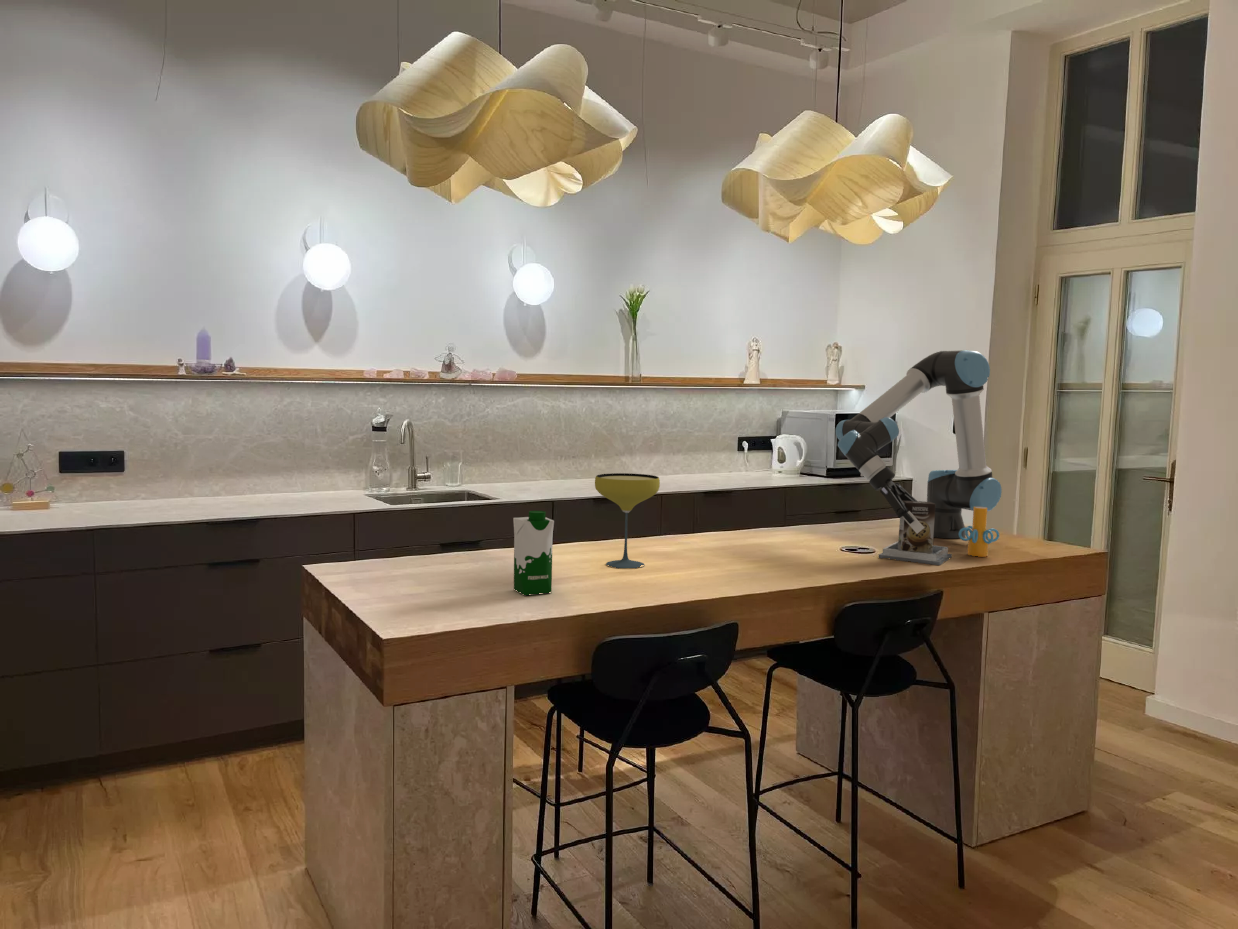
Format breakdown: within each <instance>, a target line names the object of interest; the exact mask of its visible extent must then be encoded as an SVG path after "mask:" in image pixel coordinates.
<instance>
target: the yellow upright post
mask: <svg viewBox="0 0 1238 929" xmlns="http://www.w3.org/2000/svg"><path fill="white" fill-rule="evenodd" d="M972 512H973V513H972V525H967V527H965V528H962V529H961V530H960V531H959V537H960V538H959V539H960V540H961V541H965V542H968V543H967V555H968V556H970V555H972V556H971V557H975V556H978V557H977V558H986V556H987V557H988V556H989V545H990V544H992V543H994V542H996V541H998V540H999V538H1000V532H999V530H998V529H996V528H992V527H991V528H988V529H987V521H988V512H987V508H986V507H974V509H973V511H972ZM964 530H965V534H966V536H965V537H964V538H963V537H962V535H961V533H962V531H964ZM993 532H995V533H996V537H995V538H994V534H993ZM989 535H990V538H989Z"/></svg>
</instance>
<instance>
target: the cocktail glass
mask: <svg viewBox="0 0 1238 929" xmlns="http://www.w3.org/2000/svg"><path fill="white" fill-rule="evenodd" d="M660 483H661V482H660V478H659V476H656V475H653V474H644V473H643V474H642V473H630V472H629V473H626V472H625V473H624V472H622V473H621V472H618V473H617V472H616V473H601V474H600V473H599V474H596V476H595V477H594V488H595V489H596V492H598V493H599V494H600V495H601V496H602V497H604V498H606V499H607V500H609V501H611V502H613V503H614V504H616V505H617V506H619V508H620V510H621V511H622V512H623V513H625V514H624V515H625V516H624V517H625V520H624V521H625V522H624V543H623V544H624V547H623V548H624V549H623V555H622V558H621V559H618V560H617V559H616V560H615V559H614V560H610V561H607V562H606V563H605V565H606V566H607V565H609V566H612V567H616V568H615V569H619V568H635V569H638V568H637V567H640V566H641V565H644V566H645V563H644V562H641V561H637V560H632V559H630V558H629V556H628V555H629V554H628V514H629V513H630V512H631V511H632V510H633V508H635V506H637V505H638V504H640V503H641V502H644V501H646V500H648V499H650V498H652V497H653V496H655V495H656V494H657V493H658V492H659V490H660V486H661V484H660ZM609 566H608V567H609ZM612 567H611V568H612Z"/></svg>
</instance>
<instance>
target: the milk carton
mask: <svg viewBox="0 0 1238 929" xmlns="http://www.w3.org/2000/svg"><path fill="white" fill-rule="evenodd" d="M546 514H547V512H546V511H544V510H529V511H528V516H524V517H522V516H521V517H512V518H513V521H512V522H513V534H514V535H513V537H514V540H513V546H514V547H513V590H514V589H515V590H517V591H518V592H521V593H522V594H524V595H529V594H539V593H549V592H551V593H552V587H553V586H552V584H553V581H552V579H553V538H554V537H553V533H554V532H553V531H554V525H555V520H554V519H551V518H548V517H546ZM515 590H514V591H515ZM517 591H516V592H517ZM518 592H517V593H518ZM522 594H521V595H522ZM524 595H523V596H524Z"/></svg>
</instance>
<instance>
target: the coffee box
mask: <svg viewBox="0 0 1238 929" xmlns="http://www.w3.org/2000/svg"><path fill="white" fill-rule="evenodd" d="M902 502H903V503H904V505H905V507H906V509H907V510H908V512H909V511H910V512H911V513H912V514H913V515H914V516H915V518H916V519H917V520H918V521H919V522H920V523H921V524H922V526H923V527H924V529H922V530H921V531H920V532H919V533H918V534H917V533H916V532H915V531H914V530H913V529H912V528H911V526H910V525H909V524H908V523H907V522H906V521H905V520H904V519H903V516H902V517H901V518H899V526H898V527H899V528H898V539H897V540H898V541H897V542H898V550H903V551H912V552H921V553H929V554H932V550H933V546H934V537H933V534H934V519H935V504H934V503H932V502H927V501H923V500H922V501H920V500H919V501H918V500H917V501H902Z"/></svg>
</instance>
